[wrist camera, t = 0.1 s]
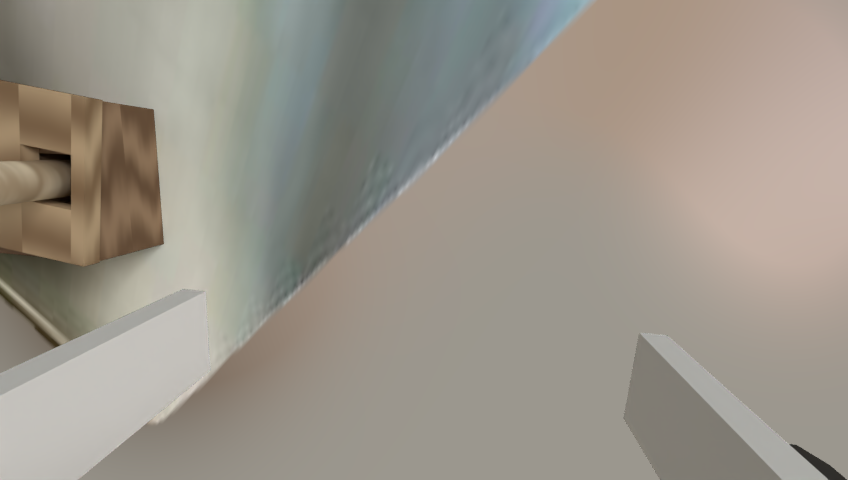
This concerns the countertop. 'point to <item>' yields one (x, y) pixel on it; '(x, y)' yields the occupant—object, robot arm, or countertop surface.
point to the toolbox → (124, 182)
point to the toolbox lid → (81, 138)
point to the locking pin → (34, 180)
